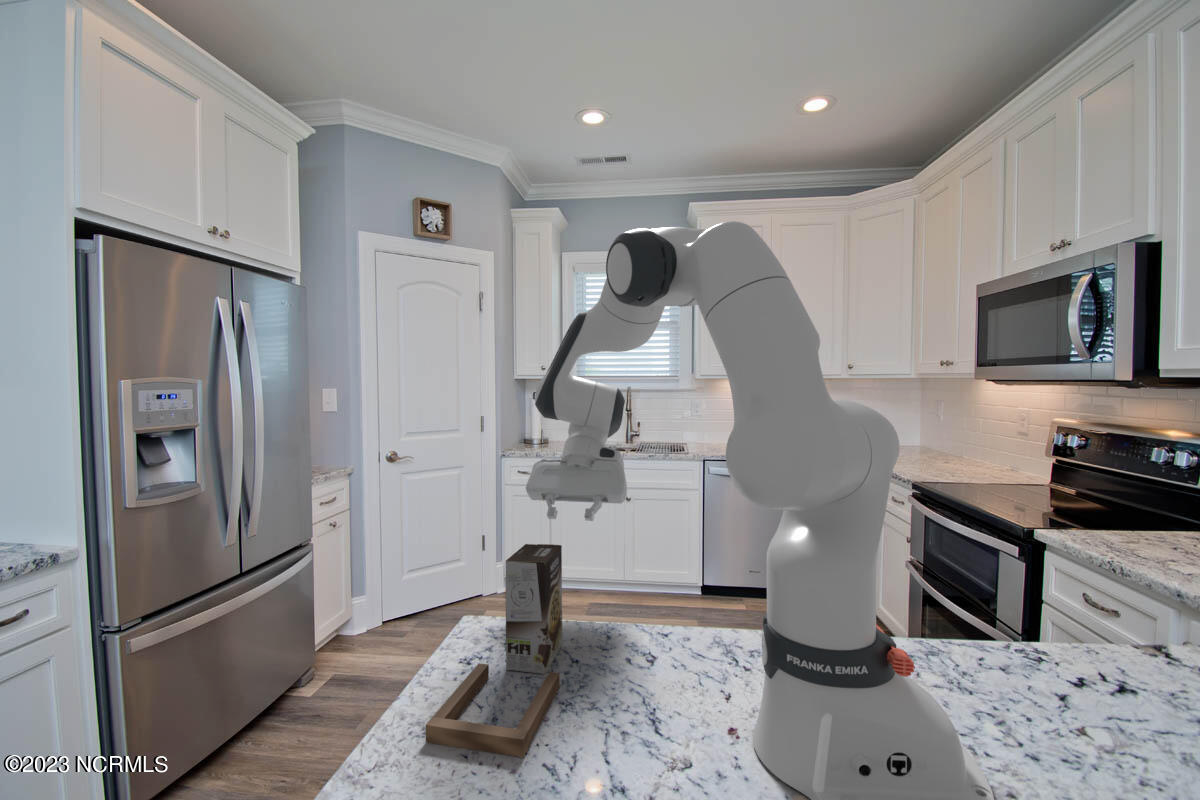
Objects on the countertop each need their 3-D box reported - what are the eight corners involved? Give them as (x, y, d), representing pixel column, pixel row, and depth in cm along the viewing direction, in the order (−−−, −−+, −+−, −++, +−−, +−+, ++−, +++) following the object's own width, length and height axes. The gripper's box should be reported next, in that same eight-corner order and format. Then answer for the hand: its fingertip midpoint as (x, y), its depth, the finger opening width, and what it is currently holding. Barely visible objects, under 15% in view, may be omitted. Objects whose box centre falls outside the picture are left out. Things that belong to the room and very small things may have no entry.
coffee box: (547, 675, 71) (545, 562, 71) (504, 670, 73) (503, 560, 72) (564, 643, 80) (563, 543, 80) (526, 640, 81) (525, 541, 81)
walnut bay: (559, 687, 68) (559, 672, 68) (523, 757, 55) (523, 739, 55) (478, 677, 71) (478, 663, 71) (425, 742, 58) (425, 724, 58)
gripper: (531, 450, 105) (514, 507, 95) (627, 451, 100) (619, 511, 91) (538, 468, 109) (522, 524, 99) (631, 470, 105) (624, 529, 95)
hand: (569, 518), depth 95 cm, fingers open, 6 cm apart
